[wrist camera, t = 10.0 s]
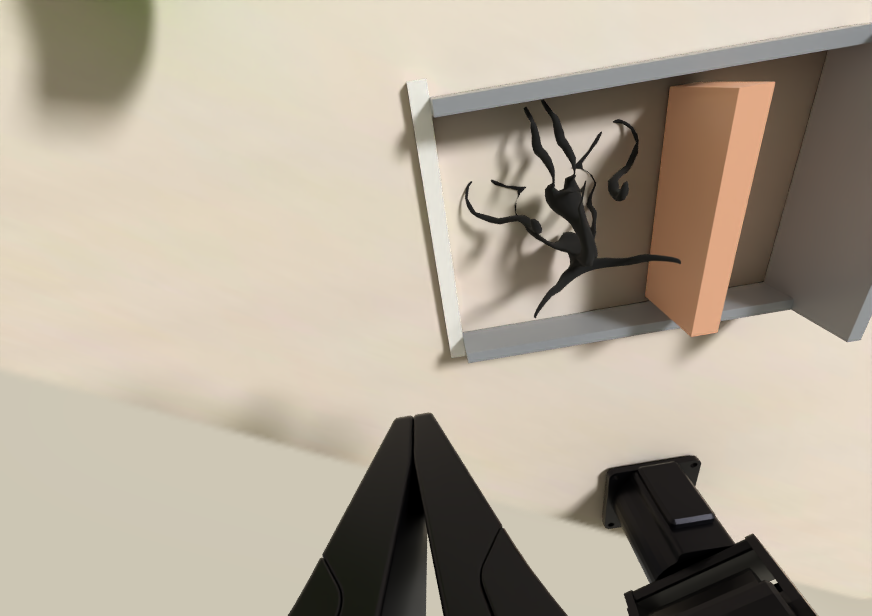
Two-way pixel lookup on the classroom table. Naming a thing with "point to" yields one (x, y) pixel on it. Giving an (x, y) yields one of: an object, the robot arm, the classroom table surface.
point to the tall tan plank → (704, 196)
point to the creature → (572, 210)
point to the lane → (799, 227)
